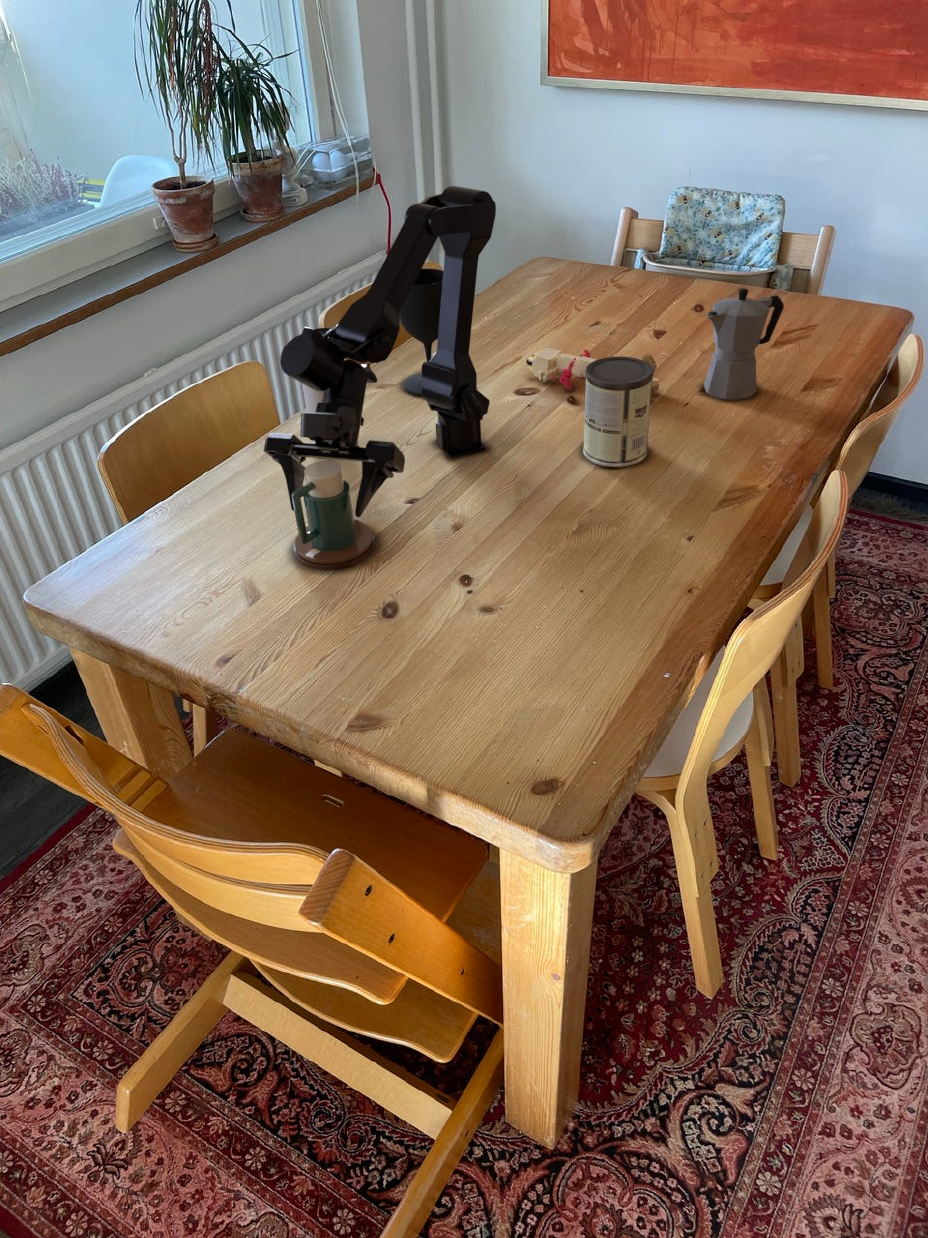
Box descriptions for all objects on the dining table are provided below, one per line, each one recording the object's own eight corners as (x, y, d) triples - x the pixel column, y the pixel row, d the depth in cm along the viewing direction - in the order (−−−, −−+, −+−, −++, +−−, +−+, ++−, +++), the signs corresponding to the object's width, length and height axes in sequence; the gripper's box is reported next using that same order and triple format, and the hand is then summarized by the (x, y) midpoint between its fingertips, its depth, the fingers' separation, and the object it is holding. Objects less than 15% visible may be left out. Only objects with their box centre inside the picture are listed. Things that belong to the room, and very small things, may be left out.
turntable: (360, 517, 139) (359, 513, 139) (387, 556, 131) (387, 551, 130) (284, 537, 136) (283, 533, 135) (307, 579, 127) (306, 574, 127)
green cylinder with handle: (330, 513, 139) (319, 442, 132) (388, 534, 134) (380, 461, 126) (275, 551, 131) (261, 478, 124) (335, 575, 126) (323, 500, 119)
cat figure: (661, 393, 170) (538, 359, 180) (669, 347, 165) (542, 315, 174) (640, 415, 164) (514, 379, 173) (647, 368, 158) (517, 333, 168)
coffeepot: (713, 407, 162) (727, 304, 151) (683, 387, 169) (693, 287, 158) (787, 389, 167) (805, 287, 156) (754, 370, 174) (769, 271, 162)
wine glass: (466, 375, 178) (461, 268, 165) (447, 399, 170) (440, 288, 158) (415, 370, 180) (406, 264, 168) (394, 393, 173) (383, 284, 160)
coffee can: (594, 433, 157) (597, 352, 148) (654, 443, 153) (661, 360, 145) (573, 461, 150) (575, 377, 141) (636, 472, 146) (642, 387, 137)
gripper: (256, 378, 124) (237, 492, 122) (390, 386, 120) (372, 505, 118) (288, 407, 135) (271, 513, 133) (412, 415, 131) (396, 524, 129)
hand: (325, 513), depth 128 cm, fingers open, 9 cm apart
